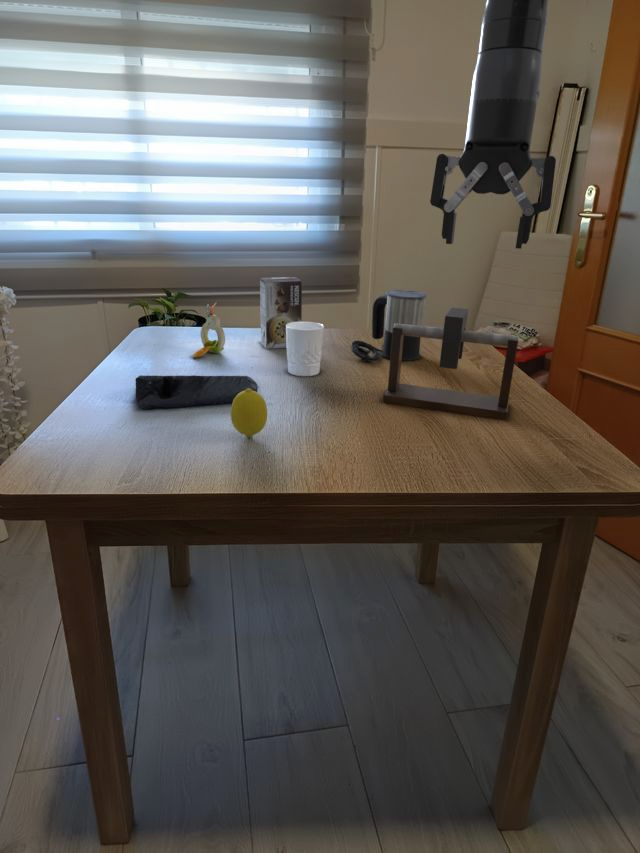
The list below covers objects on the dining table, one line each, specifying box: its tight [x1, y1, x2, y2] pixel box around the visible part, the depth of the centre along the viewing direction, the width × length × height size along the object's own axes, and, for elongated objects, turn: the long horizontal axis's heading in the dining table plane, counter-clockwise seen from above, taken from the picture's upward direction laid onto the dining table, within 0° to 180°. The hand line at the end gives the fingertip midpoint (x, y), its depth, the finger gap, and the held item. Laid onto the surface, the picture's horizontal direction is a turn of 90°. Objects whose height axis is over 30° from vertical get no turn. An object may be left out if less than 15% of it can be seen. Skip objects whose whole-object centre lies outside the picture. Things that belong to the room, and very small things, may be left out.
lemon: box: [230, 388, 268, 439], centre depth 88 cm, size 6×6×8 cm
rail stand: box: [382, 323, 520, 421], centre depth 104 cm, size 22×8×14 cm, turn 71°
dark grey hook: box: [438, 307, 469, 370], centre depth 102 cm, size 3×8×9 cm, turn 161°
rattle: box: [192, 301, 226, 359], centre depth 131 cm, size 8×8×12 cm
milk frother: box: [350, 289, 428, 362], centre depth 132 cm, size 14×16×15 cm
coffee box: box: [259, 276, 303, 350], centre depth 139 cm, size 9×6×16 cm
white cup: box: [286, 320, 325, 377], centre depth 120 cm, size 8×8×10 cm
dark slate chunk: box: [135, 374, 259, 410], centre depth 105 cm, size 15×22×5 cm
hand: (483, 245), depth 73 cm, fingers open, 8 cm apart
